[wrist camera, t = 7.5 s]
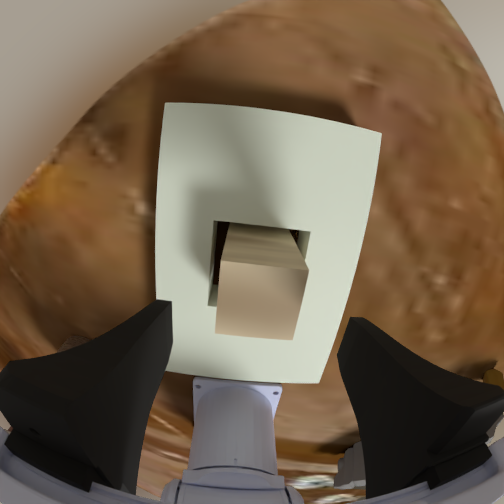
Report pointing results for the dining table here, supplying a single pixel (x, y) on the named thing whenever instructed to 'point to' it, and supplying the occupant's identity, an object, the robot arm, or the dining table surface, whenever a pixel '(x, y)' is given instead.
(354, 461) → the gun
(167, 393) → the dining table surface
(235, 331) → the square peg
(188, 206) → the socket plate
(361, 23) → the dining table surface
